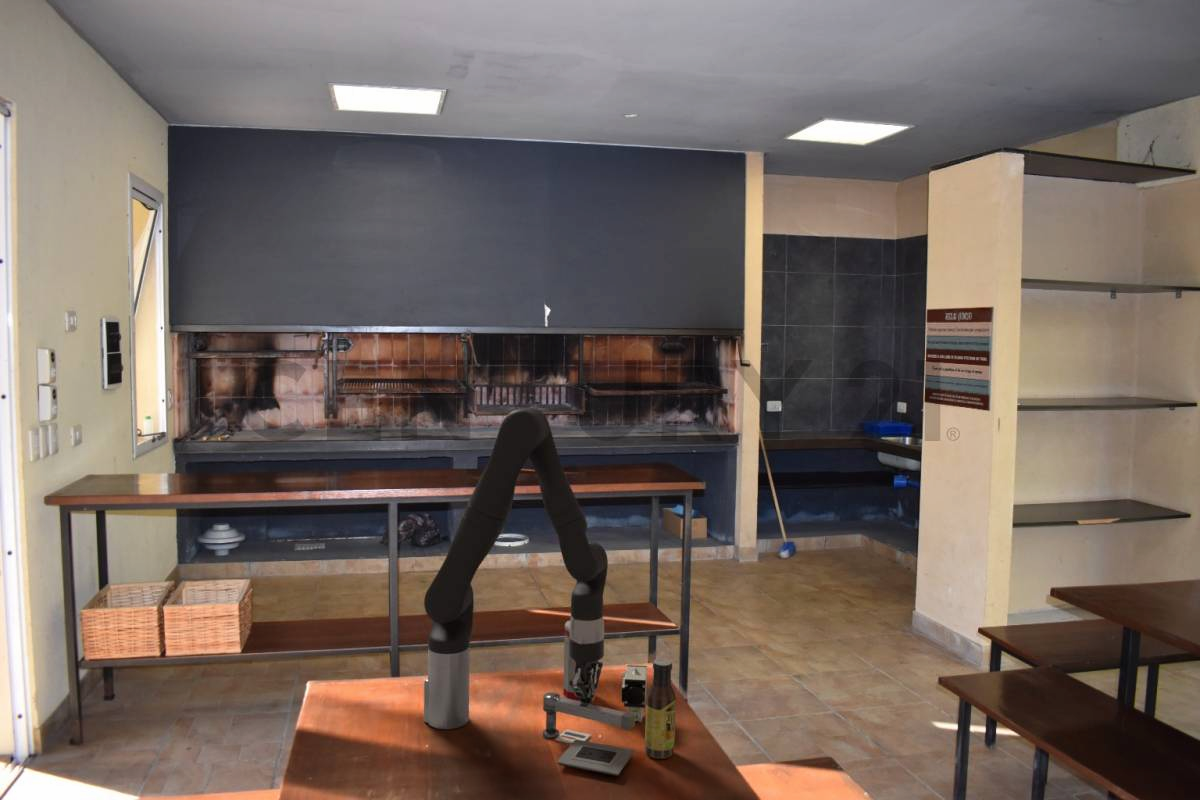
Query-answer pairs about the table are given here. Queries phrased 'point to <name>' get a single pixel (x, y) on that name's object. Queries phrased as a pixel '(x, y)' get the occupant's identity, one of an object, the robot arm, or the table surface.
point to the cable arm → (588, 711)
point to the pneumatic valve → (634, 689)
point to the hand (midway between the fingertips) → (586, 711)
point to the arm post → (550, 726)
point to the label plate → (572, 736)
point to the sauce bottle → (660, 712)
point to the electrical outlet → (595, 757)
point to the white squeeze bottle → (569, 668)
